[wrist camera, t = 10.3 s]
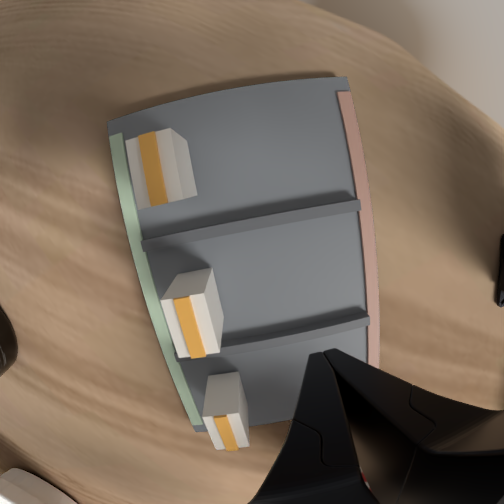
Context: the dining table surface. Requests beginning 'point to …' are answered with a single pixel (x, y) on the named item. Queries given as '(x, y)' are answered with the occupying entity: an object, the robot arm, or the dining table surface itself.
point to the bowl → (29, 489)
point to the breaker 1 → (160, 168)
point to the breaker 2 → (226, 411)
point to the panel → (261, 235)
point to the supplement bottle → (7, 344)
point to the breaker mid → (194, 313)
